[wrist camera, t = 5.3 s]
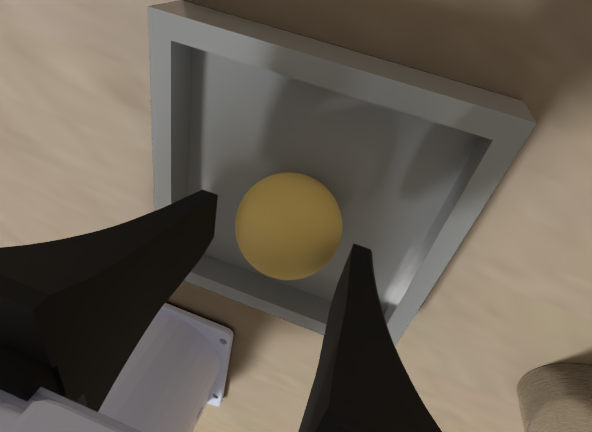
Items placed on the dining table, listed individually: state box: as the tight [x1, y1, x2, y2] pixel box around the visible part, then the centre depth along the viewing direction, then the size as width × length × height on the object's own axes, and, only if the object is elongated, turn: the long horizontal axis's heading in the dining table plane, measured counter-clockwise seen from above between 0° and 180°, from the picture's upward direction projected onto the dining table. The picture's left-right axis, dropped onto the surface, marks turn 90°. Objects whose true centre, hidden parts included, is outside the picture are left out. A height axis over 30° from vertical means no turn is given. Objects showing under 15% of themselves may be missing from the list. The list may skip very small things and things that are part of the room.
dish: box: [148, 0, 537, 346], centre depth 16 cm, size 12×12×2 cm
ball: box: [235, 172, 343, 280], centre depth 14 cm, size 4×4×4 cm
